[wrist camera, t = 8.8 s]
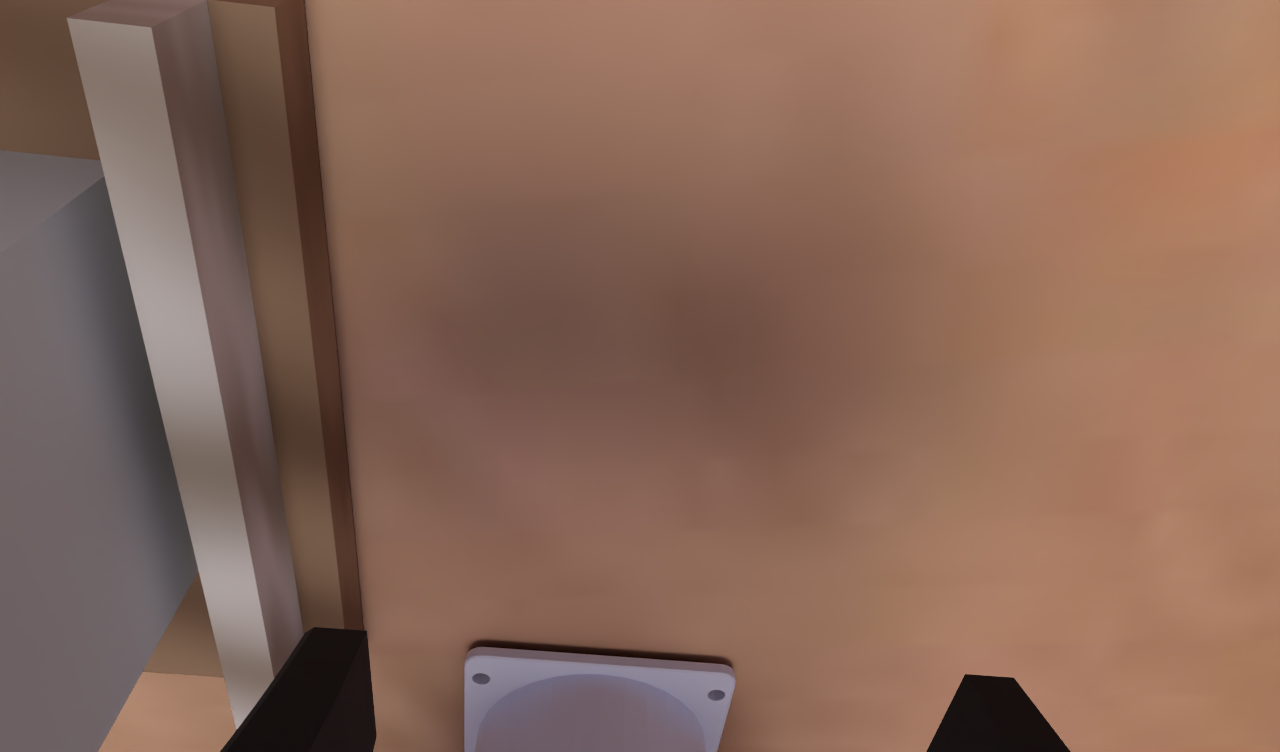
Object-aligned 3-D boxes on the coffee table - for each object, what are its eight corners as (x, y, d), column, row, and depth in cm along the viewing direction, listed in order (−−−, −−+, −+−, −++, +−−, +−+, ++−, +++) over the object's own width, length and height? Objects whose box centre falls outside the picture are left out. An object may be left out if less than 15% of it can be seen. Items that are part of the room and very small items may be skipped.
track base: (364, 642, 26) (330, 751, 23) (47, 619, 25) (-29, 728, 22) (303, -11, 16) (227, 36, 13) (-224, -73, 15) (-426, -38, 12)
